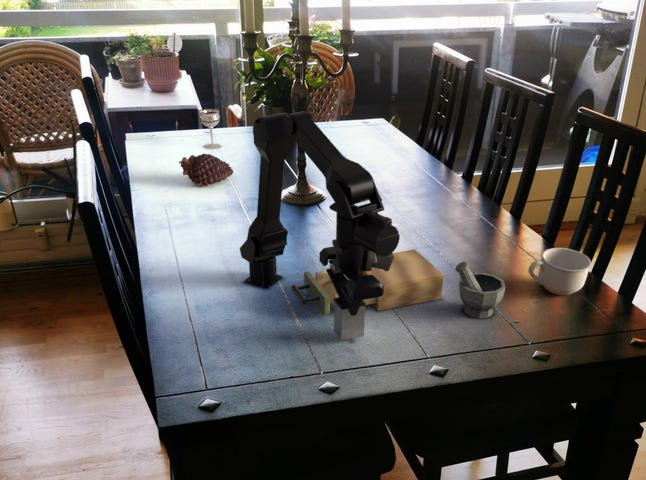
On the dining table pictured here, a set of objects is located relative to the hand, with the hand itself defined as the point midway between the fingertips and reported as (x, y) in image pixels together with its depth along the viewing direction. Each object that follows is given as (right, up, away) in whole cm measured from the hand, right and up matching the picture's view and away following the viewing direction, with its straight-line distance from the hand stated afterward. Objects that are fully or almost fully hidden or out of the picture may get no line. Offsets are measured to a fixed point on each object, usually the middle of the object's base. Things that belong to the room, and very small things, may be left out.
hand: (349, 310), depth 146 cm
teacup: (+47, +6, +22) cm, 53 cm away
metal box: (0, -5, +3) cm, 5 cm away
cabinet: (+11, +6, +21) cm, 24 cm away
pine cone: (-42, +44, +79) cm, 99 cm away
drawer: (-3, +4, +16) cm, 16 cm away
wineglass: (-46, +65, +110) cm, 136 cm away
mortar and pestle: (+28, 0, +13) cm, 31 cm away
